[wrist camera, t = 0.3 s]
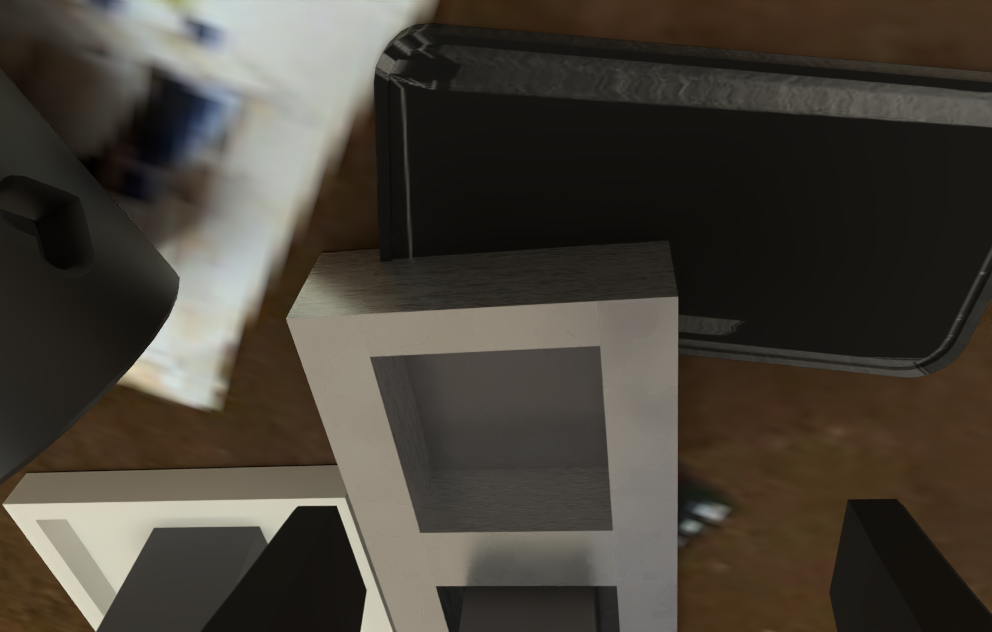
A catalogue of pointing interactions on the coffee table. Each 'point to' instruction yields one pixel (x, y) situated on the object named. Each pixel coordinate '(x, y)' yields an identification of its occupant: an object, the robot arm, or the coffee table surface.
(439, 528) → the block
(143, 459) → the coffee table surface
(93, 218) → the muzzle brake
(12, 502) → the tray
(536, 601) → the twin plug
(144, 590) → the plug
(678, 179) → the phone
